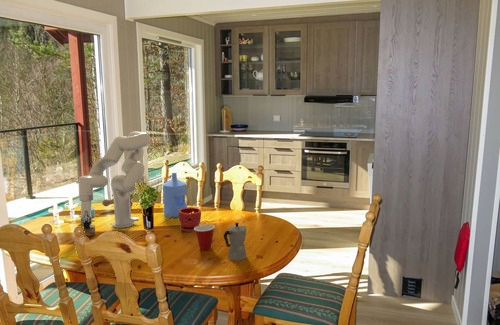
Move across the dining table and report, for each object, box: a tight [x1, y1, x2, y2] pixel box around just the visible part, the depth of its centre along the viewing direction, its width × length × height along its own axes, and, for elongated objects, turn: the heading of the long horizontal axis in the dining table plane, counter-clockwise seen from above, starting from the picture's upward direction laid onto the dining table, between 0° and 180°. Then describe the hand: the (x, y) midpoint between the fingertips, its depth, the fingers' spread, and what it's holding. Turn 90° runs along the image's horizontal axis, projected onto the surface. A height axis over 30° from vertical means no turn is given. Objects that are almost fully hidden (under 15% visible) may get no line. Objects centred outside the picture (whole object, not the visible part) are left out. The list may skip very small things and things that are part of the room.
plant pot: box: [178, 207, 202, 233], centre depth 246 cm, size 13×13×12 cm
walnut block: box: [83, 224, 96, 237], centre depth 240 cm, size 6×4×5 cm
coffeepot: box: [223, 222, 247, 262], centre depth 204 cm, size 15×9×18 cm, turn 137°
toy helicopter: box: [102, 193, 133, 208], centre depth 289 cm, size 8×21×14 cm, turn 133°
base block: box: [80, 217, 93, 225], centre depth 259 cm, size 6×4×5 cm
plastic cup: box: [194, 224, 216, 251], centre depth 217 cm, size 11×11×12 cm
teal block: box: [91, 207, 96, 218], centre depth 274 cm, size 4×6×5 cm
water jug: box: [162, 172, 188, 218], centre depth 274 cm, size 16×16×28 cm
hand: (87, 226), depth 238 cm, fingers open, 9 cm apart
